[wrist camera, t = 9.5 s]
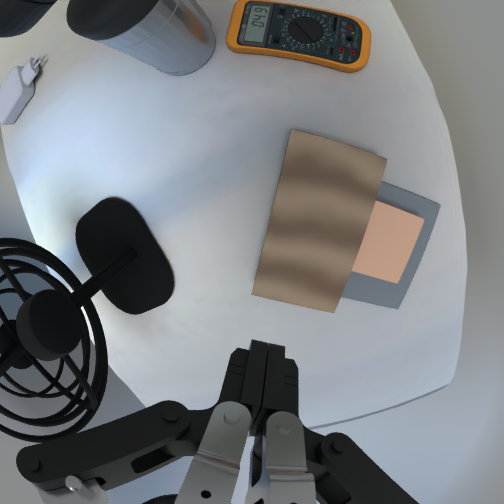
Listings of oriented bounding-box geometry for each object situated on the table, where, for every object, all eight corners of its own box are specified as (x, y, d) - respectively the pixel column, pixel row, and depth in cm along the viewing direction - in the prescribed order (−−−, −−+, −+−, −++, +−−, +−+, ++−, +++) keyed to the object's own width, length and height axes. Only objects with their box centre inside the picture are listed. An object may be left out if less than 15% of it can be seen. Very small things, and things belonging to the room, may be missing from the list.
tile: (370, 196, 34) (375, 200, 31) (416, 214, 33) (424, 219, 31) (346, 262, 37) (349, 270, 35) (392, 276, 37) (397, 283, 35)
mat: (371, 177, 33) (372, 178, 33) (438, 204, 33) (440, 205, 32) (332, 293, 40) (333, 295, 40) (396, 307, 40) (398, 309, 39)
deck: (290, 131, 32) (291, 129, 29) (376, 157, 32) (387, 158, 28) (254, 280, 41) (251, 294, 37) (330, 298, 41) (333, 313, 37)
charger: (52, 72, 31) (15, 123, 35) (44, 46, 28) (8, 96, 32) (36, 70, 26) (-1, 125, 31) (29, 43, 24) (-7, 96, 28)
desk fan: (57, 216, 41) (-90, 304, 9) (114, 162, 36) (-105, 242, 4) (130, 332, 49) (38, 472, 16) (199, 307, 44) (103, 509, 12)
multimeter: (360, 79, 29) (367, 73, 25) (228, 54, 29) (223, 46, 26) (366, 30, 25) (373, 21, 22) (239, 7, 26) (235, -4, 23)
